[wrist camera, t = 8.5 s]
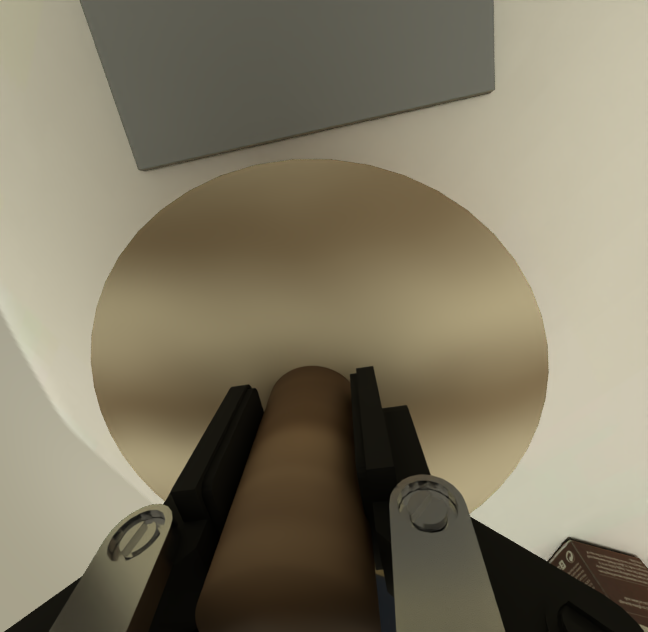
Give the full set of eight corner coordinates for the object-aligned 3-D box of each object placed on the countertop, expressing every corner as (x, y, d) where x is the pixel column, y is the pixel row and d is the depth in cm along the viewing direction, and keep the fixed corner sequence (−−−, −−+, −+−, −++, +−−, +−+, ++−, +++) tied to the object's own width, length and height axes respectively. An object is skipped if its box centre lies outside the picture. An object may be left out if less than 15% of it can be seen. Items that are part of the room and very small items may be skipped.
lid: (34, 219, 10) (-530, 255, 4) (535, 107, 9) (1186, -198, 2) (190, 549, 15) (74, 823, 8) (527, 516, 13) (710, 821, 7)
